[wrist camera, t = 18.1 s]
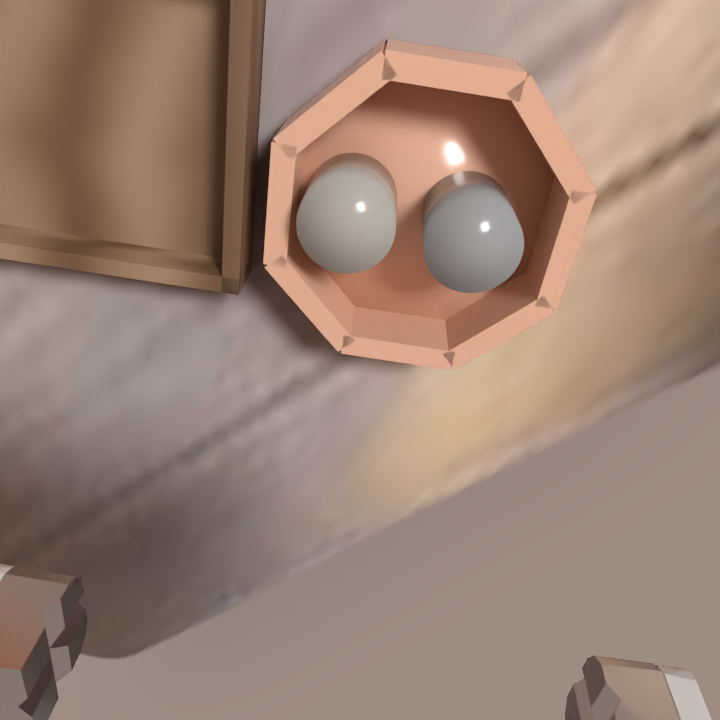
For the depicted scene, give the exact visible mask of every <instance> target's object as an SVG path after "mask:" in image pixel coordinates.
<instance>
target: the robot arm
mask: <svg viewBox="0 0 720 720" xmlns="http://www.w3.org/2000/svg"><path fill="white" fill-rule="evenodd" d="M83 592H84V591H83V585H82V580H81V578H79V577H74V576H68V575H62V574H56V573H50V572H44V571H38V570H32V569H27V568H21V567H16V566H10V565H4V564H0V720H48V719H49V716H50V714H51V712H52V710H53V708H54V706H55V704H56V702H57V700H58V693H57V687H56V682H57V681H58V680H60V679H61V678H62V677H64V676H65V675H66V674H68V673H69V672H70V671H72V669H73V667H74V665H75V662H76V660H77V658H78V656H79V654H80V651H81V648H82V644H83V641H84V638H85V634H86V626H87V614H86V609H85V608H84V607H83V606H82V605H81V604H80V603H79V602H78V601H79V600H80V598H81V596H82V594H83ZM582 669H583V673H584V678H585V679H583V680H581V681H579V682H577V683H575V684H573V686H572V688H571V690H570V692H569V695H568V697H567V703H566V712H565V719H566V720H712V719H711V717H710V714H709V712H708V709H707V707H706V704H705V702H704V699H703V697H702V694H701V692H700V689H699V687H698V684H697V682H696V680H695V677H694V676H693V675H692V674H691V673H690V671H689V670H685V669H680V668H674V667H666V666H658V665H654V664H652V663H645V662H638V661H631V660H623V659H616V658H609V657H601V656H592V657H590V658H588V659H587V661H586V662H585V664H584V666H583V668H582Z"/></svg>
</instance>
